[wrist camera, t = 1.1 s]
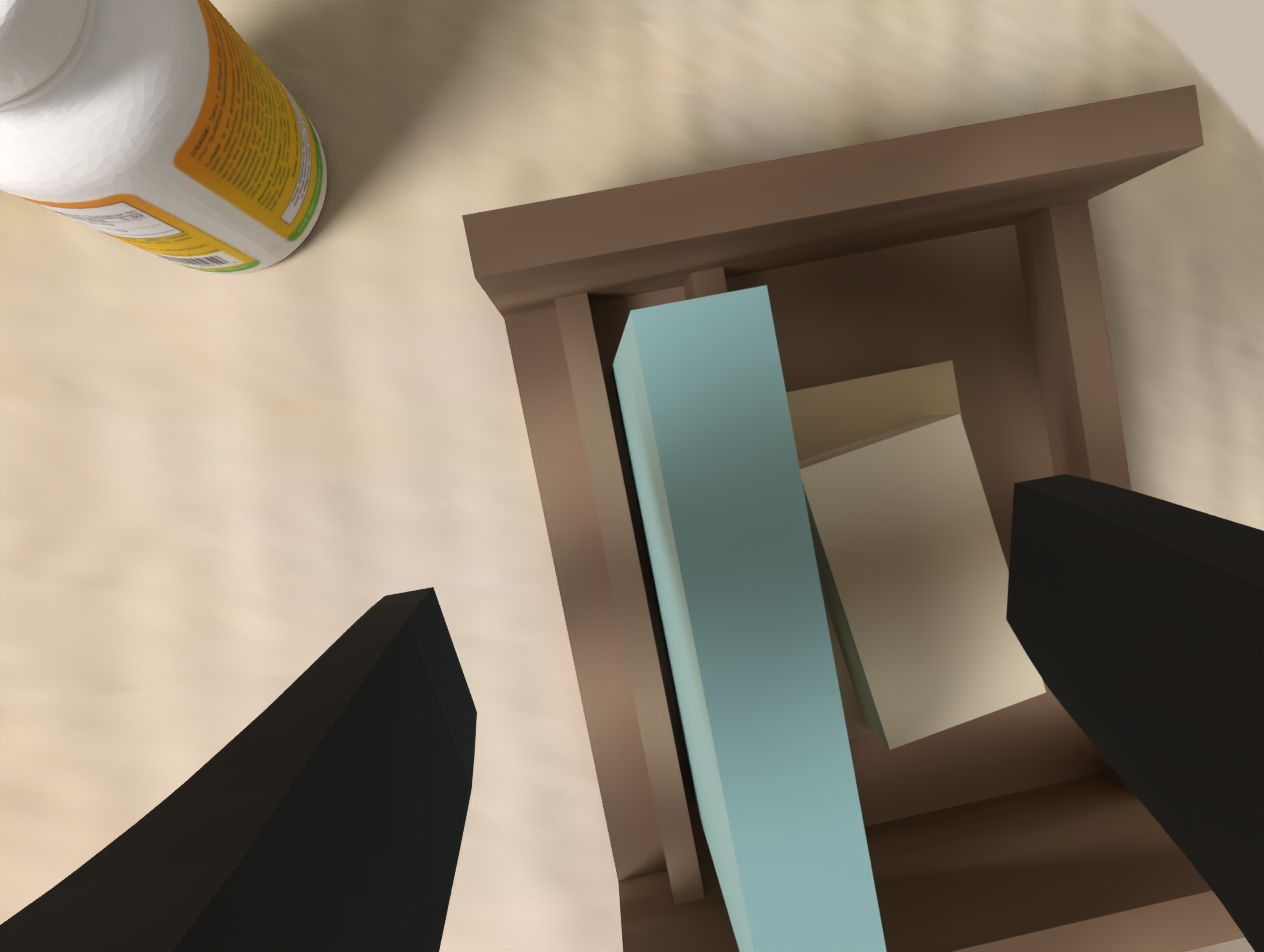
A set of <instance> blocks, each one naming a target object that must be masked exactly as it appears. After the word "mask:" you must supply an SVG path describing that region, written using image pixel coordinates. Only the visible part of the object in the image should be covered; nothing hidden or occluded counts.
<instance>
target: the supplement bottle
mask: <svg viewBox="0 0 1264 952" xmlns="http://www.w3.org/2000/svg"><path fill="white" fill-rule="evenodd" d="M326 187H327V166H326V159H325V155H324V151H323V148H322V144H321V142H320V139H319V136H318V134H317V132H316V130H315V128H314V126H313V124H312V122H311V120H310V119H309V117H308V116H307V114H306V113H305V111H304V110H303V109H302V107H301V106H300V105H299V103H298V102H297V101H296V99H295V98H294V97H293V96H292V95H291V93H290V92H289V91H288V90H287V89H286V88H285V86H284V85H283V84H282V83H281V82H280V81H279V80H278V79H277V78H276V76H275V75H274V74H273V73H272V72H271V71H270V70H269V69H268V67H267V66H266V65H265V64H264V63H263V62H262V60H261V59H260V58H259V57H258V56H257V55H256V54H255V53H254V51H253V50H252V49H251V48H250V47H249V46H248V45H247V43H246V42H245V41H244V40H243V39H242V38H241V36H240V35H239V34H238V33H237V32H236V31H235V30H234V28H233V27H232V26H231V25H230V24H229V23H228V22H227V20H226V19H225V18H224V17H223V16H222V14H221V13H220V12H219V11H218V10H217V9H216V8H215V7H214V5H213V4H212V3H211V2H210V1H209V0H0V189H1V190H3V191H5V192H7V193H10V194H12V195H15V196H17V197H19V198H21V199H24V200H26V201H29V202H31V203H34V204H36V205H39V206H41V207H43V208H46V209H48V210H50V211H53V212H55V213H57V214H60V215H62V216H65V217H67V218H69V219H72V220H74V221H77V222H79V223H81V224H84V225H86V226H88V227H91V228H93V229H96V230H98V231H100V232H103V233H105V234H107V235H110V236H112V237H115V238H117V239H119V240H122V241H124V242H126V243H129V244H131V245H134V246H136V247H138V248H141V249H143V250H145V251H147V252H150V253H152V254H155V255H157V256H160V257H162V258H164V259H167V260H169V261H172V262H174V263H177V264H180V265H182V266H185V267H188V268H191V269H194V270H197V271H201V272H206V273H211V274H220V275H236V274H245V273H250V272H255V271H258V270H262V269H264V268H267V267H269V266H272V265H274V264H275V263H277V262H279V261H281V260H282V259H284V258H285V257H287V256H288V255H289V254H291V253H292V252H293V251H294V250H295V249H296V248H297V247H298V246H299V245H300V244H301V243H302V242H303V241H304V240H305V239H306V237H307V236H308V235H309V233H310V232H311V230H312V229H313V227H314V225H315V223H316V221H317V219H318V217H319V215H320V212H321V209H322V206H323V203H324V199H325V194H326Z"/></svg>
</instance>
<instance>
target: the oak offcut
mask: <svg viewBox="0 0 1264 952" xmlns="http://www.w3.org/2000/svg"><path fill="white" fill-rule="evenodd" d="M786 395H787V401H788V406H789V412H790V417H791V423H792V429H793V434H794V440H795V445H796V451H797V456H798V461H801V460H804V459H807V458H810V457H813V456H815V455H818V454H821V453H824V452H827V451H830V450H833V449H835V448H838V447H841V446H844V445H847V444H850V443H853V442H855V441H858V440H861V439H864V438H867V437H870V436H873V435H875V434H878V433H881V432H884V431H887V430H890V429H893V428H895V427H898V426H901V425H904V424H907V423H910V422H913V421H915V420H918V419H921V418H924V417H927V416H930V415H945V414H960V416H961V410H960V404H959V398H958V392H957V386H956V380H955V374H954V368H953V362H952V360H951V361H946V362H941V363H936V364H930V365H925V366H920V367H915V368H910V369H905V370H899V371H894V372H889V373H884V374H879V375H874V376H869V377H863V378H858V379H853V380H848V381H843V382H838V383H832V384H827V385H822V386H817V387H812V388H807V389H802V390H796V391H791V392H786ZM961 419H962V416H961ZM962 423H963V422H962ZM822 595H823V593H822ZM823 601H824V607H825V612H826V618H827V623H828V629H829V634H830V640H831V645H832V651H833V657H834V662H835V668H836V673H837V679H838V684H839V690H840V696H841V701H842V707H843V712H844V718H845V723H846V729H847V734H848V739H850V738H855V737H859V736H864V735H869V734H873V732H872V731H871V730H870V729H869V728H868V727H867V726H866V723H865V720H864V717H863V714H862V711H861V708H860V705H859V702H858V699H857V696H856V693H855V690H854V687H853V684H852V681H851V678H850V675H849V672H848V669H847V666H846V663H845V660H844V657H843V654H842V650H841V647H840V644H839V641H838V638H837V635H836V632H835V629H834V626H833V623H832V620H831V617H830V614H829V611H828V608H827V605H826V602H825V599H824V596H823Z"/></svg>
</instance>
